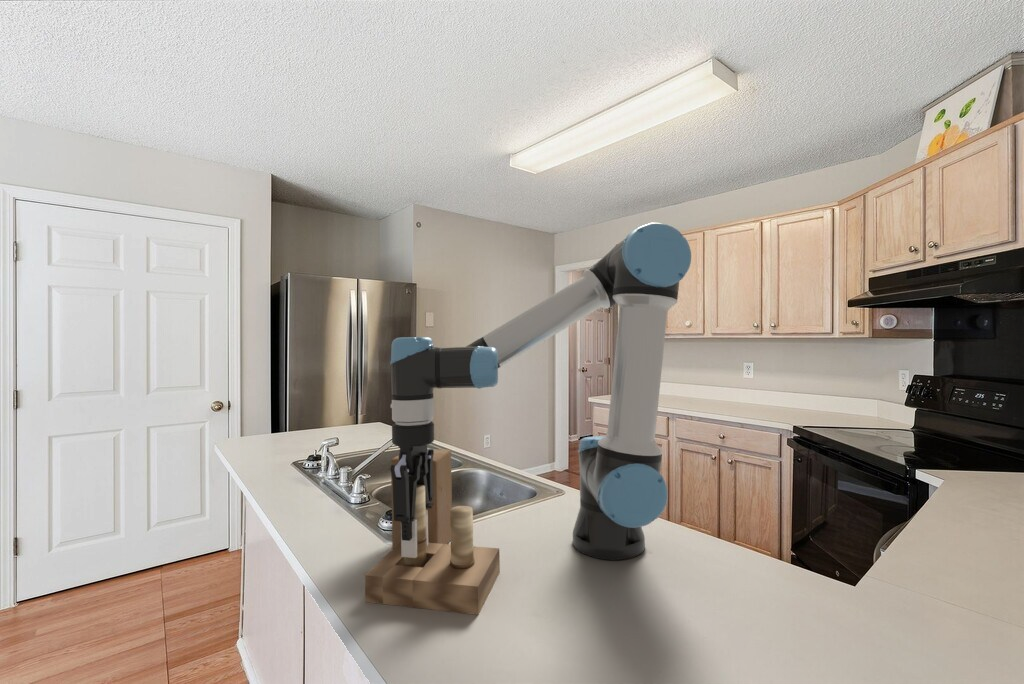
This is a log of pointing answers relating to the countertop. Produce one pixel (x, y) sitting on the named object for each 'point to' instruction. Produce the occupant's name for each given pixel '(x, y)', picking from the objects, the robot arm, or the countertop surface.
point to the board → (439, 573)
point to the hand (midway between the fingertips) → (415, 550)
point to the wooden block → (433, 501)
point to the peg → (419, 530)
